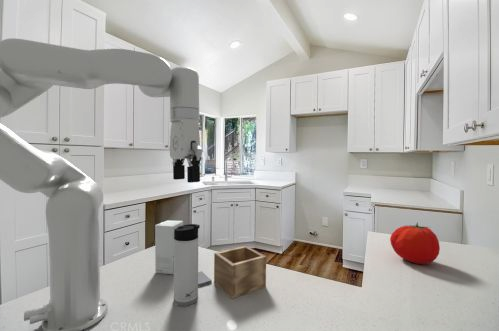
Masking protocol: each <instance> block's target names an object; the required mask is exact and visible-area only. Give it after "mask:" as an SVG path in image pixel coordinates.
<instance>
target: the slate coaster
mask: <svg viewBox="0 0 499 331" xmlns="http://www.w3.org/2000/svg"><path fill="white" fill-rule="evenodd" d="M211 283H212V279H211V278H210V277H209V276H208V275H207V274H205V273H204V272H203V271H198V288H199V287H203V286H207V285H209V284H211Z"/></svg>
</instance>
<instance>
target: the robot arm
mask: <svg viewBox="0 0 499 331" xmlns="http://www.w3.org/2000/svg"><path fill="white" fill-rule="evenodd" d="M199 78H200V76H199V73H198V71H196V69H193V68H191V67H186V66H176V67H174V68H171V66H170V64H169V63H168V62H167V61H166V60H165V59H164V58H163V57H160V56H159V55H155V54H152V53H148V52H143V51H137V50H132V49H126V48H125V49H124V48H101V49H81V48H76V47H69V46H66V45H58V44H52V43H46V42H41V41H34V40H30V39H29V40H28V39H23V38H14V37H13V38H6V39H2V40H1V41H0V119H1V118H4V117H7V116H9V115H10V114H13V113H14V112H16V111H18V110H19V109H21V108H22V107H24V106H26V105H27V104H29V103H30V102H32V101H34V100H35V99H37V98H39V97H40V96H42V95H43V94H44V93H46V92H47V91H48V90H50V89H51V88H52V87H53V86H59V87H68V88H73V89H74V88H75V89H82V90H93V89H97V88H99V87H101V86H104V85H113V84H117V85H119V84H121V85H131V86H138V89H139V90H140V91H141V92H142V93H143V94H144V95H145V96H146V97H150V98H169V114H170V116H169V118H170V119H169V120H170V123H171V125H170V126H171V127H170V136H169V138H170V139H169V157H170V158H171V159H172V173H173V180H185V179H187V183H199V182H201V168H200V167H201V161H202V154H203V149H202V147H201V140H200V138H201V137H200V127H199V123H200V80H199ZM185 159H186V161H187V164H188V166H187V167H186V168H185V164H184V163H185ZM186 169H187V178H185V177H186V174H185V173H186V172H185V170H186ZM0 181H2V182H3V183H5V184H6V185H7V186H9V187H10V188H12V189H13V190H15V191H17V192H20V193H24V194H34V193H41V194H43V196H45V197H47V198H48V199H47V202H46V205H45V218H46V219H45V220H46V225H47V226H46V227H47V233H48V248H49V249H48V250H49V251H48V253H49V254H48V256H49V298H50V299H49V301H48V304H44V305H43V306H42V307H40V308H39V307H38V308H33V309H30V310H29V309H28V310H26V311H24V312H23V322H27V321H29V325H32V324H36V323H39V322H41V331H84V330H86V329H89V328H90V327H92V326H93V325H95V324H97V323H99V321H100V320H102V319H103V318H104V317H105V316H106V314H107V311H108V303H107V302H106V300H104V299H102V298H101V273H100V271H101V266H100V265H101V264H100V262H101V259H100V254H101V253H100V252H101V251H100V250H101V249H100V248H101V247H100V223H99V210H100V209H99V208H100V207H101V205H102V202H103V198H104V193H103V190H102V188H101V187H100V185H99V184H98V182H96V181H94V180H93V179H92V178H91V177H89V176H88V175H86V174H85V173H84V172H82V171H81V169H79V168H77V167H76V166H74V165H73V164H72V163H71V162H70V161H68V160H67V159H65V158H64V157H62V156H61V155H59V154H58V153H55V152H54V151H49V150H46V149H45V150H43V149H38V148H37V147H34V146H33V145H32V144H30V143H28V142H27V141H25V140H24V139H23V138H21V137H20V136H18V135H17V134H16V133H15V132H14V131H12V130H11V129H10V128H8V127H7V126H5V125H4V124H2V123H1V122H0Z"/></svg>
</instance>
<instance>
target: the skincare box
mask: <svg viewBox="0 0 499 331" xmlns="http://www.w3.org/2000/svg"><path fill="white" fill-rule="evenodd" d="M182 225H184V221H183V220H171V219H169V220H165V221H162V222H160V223H157V224H155V225H154V229H155V232H154V234H155V235H154V236H155V237H154V238H155V239H154V241H155V243H154V245H155V247H154V248H155V250H154V254H155V258H154V259H155V261H154V262H155V266H154V267H155V269H154V270H155V273H157V274H164V275H165V274H166V275H174V229H176V228H178V227H179V226H182Z"/></svg>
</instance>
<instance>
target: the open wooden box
mask: <svg viewBox="0 0 499 331" xmlns="http://www.w3.org/2000/svg"><path fill="white" fill-rule="evenodd" d="M213 254H214V257H213V258H214V260H213V261H214V265H213V271H214V272H213V284H215V285H216V286H217V287H218V288H219V289H220V290H221V291H223V292H224V293H225V294H226V295H227V296H228V297H229V298H231V299H235V298H238V297H241V296H244V295H247V294H250V293H253V292H255V291H259V290H261V289H264V288H266V287H267V284H266V283H267V282H266V281H267V255H264V254H262V253H261V252H259V251H257V250H255V249H253V248H252V247H249V246H247V245H243V246H239V247H235V248H230V249H227V250H220V251H217V252H214V253H213Z"/></svg>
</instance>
